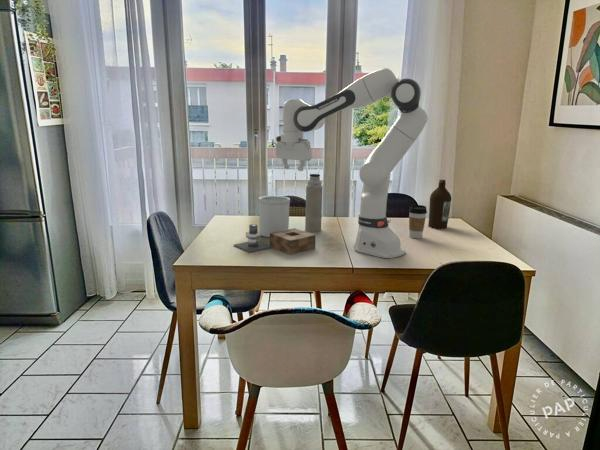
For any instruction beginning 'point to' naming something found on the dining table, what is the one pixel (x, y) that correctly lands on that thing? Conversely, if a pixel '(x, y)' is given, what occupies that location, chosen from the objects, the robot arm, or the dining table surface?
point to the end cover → (253, 235)
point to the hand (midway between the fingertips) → (293, 169)
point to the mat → (249, 249)
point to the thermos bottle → (313, 204)
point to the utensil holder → (273, 214)
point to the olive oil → (439, 207)
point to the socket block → (292, 241)
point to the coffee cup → (417, 220)
